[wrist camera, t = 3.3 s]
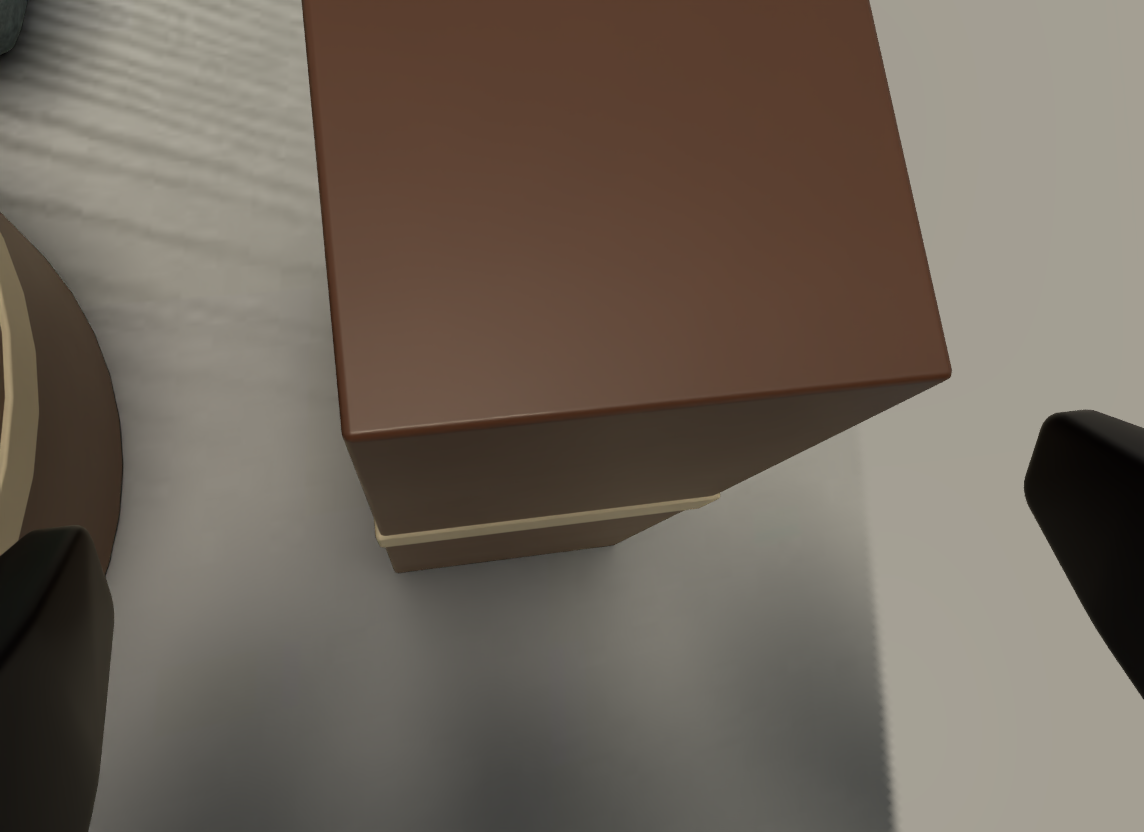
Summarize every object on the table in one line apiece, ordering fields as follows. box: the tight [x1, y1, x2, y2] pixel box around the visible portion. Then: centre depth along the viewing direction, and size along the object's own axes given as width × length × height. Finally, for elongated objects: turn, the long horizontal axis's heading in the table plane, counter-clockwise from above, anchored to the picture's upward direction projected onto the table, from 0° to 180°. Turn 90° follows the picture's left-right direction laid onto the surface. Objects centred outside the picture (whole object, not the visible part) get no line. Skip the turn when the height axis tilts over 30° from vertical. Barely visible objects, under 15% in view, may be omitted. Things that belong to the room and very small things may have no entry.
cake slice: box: [302, 0, 952, 573], centre depth 14 cm, size 6×4×13 cm
